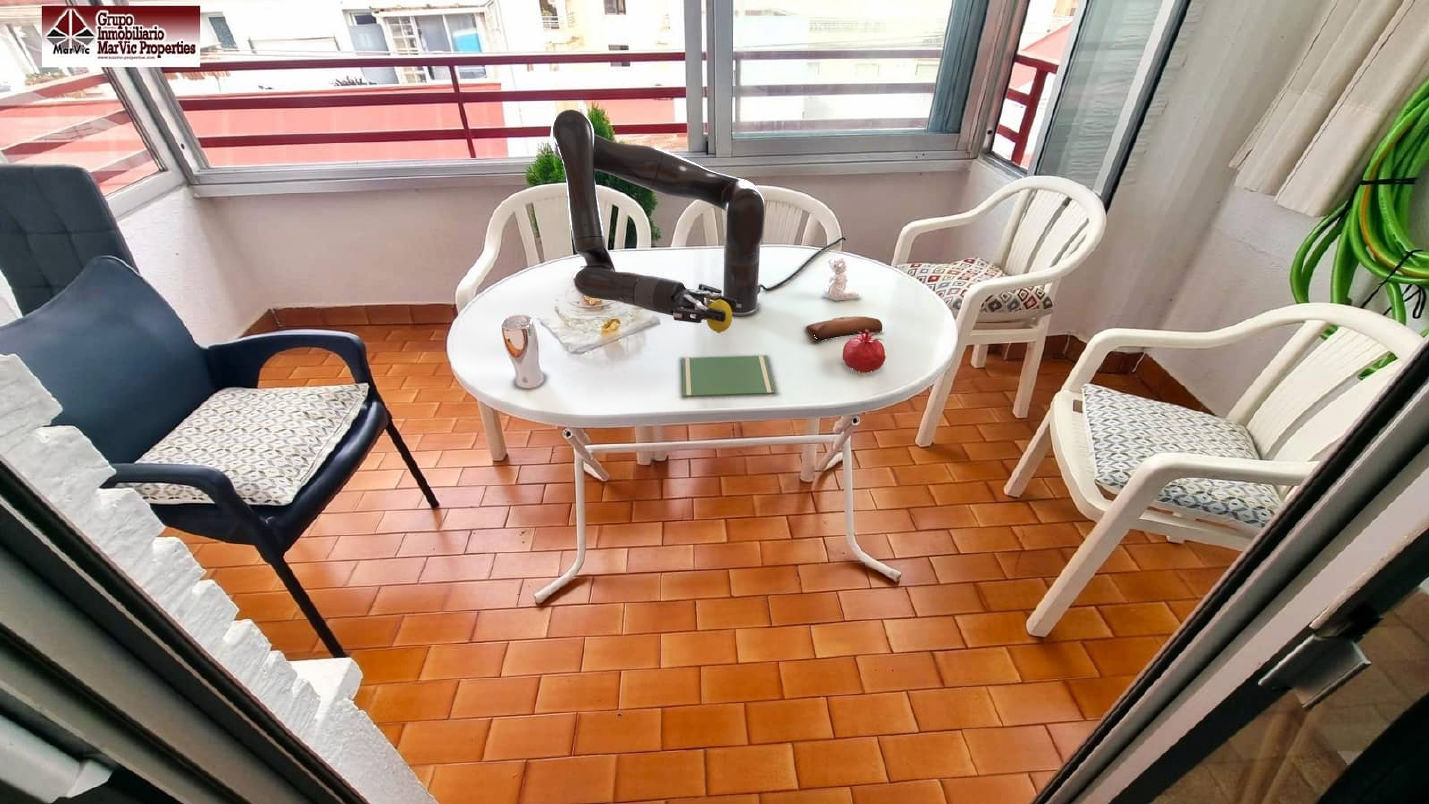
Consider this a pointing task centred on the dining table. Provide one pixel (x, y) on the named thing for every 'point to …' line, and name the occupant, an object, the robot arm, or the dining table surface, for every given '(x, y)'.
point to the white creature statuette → (838, 281)
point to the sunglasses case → (843, 327)
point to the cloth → (726, 376)
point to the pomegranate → (864, 353)
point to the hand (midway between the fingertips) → (730, 310)
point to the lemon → (719, 325)
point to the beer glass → (523, 349)
